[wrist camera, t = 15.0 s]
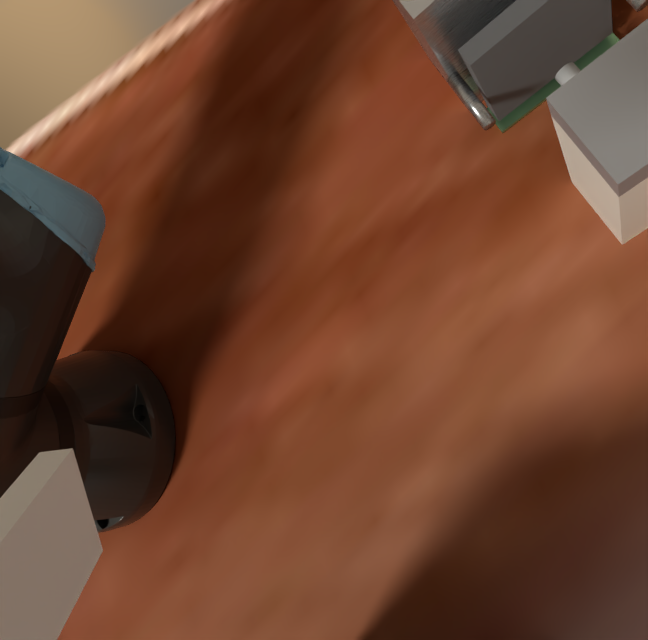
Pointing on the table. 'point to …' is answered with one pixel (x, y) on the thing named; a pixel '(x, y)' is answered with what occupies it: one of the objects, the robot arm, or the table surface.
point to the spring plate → (532, 47)
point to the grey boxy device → (457, 29)
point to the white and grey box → (608, 132)
